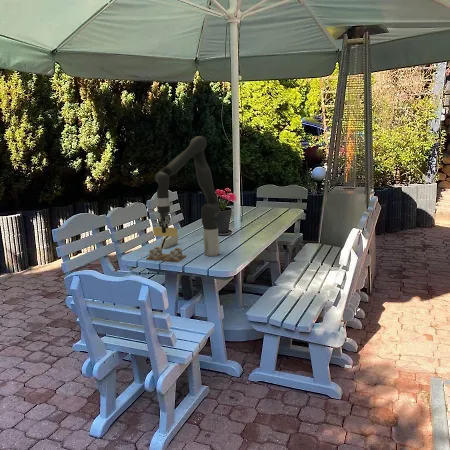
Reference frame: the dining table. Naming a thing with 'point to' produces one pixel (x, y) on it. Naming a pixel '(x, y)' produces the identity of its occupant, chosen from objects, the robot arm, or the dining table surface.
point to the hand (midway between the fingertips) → (165, 232)
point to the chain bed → (166, 255)
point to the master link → (169, 231)
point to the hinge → (168, 241)
